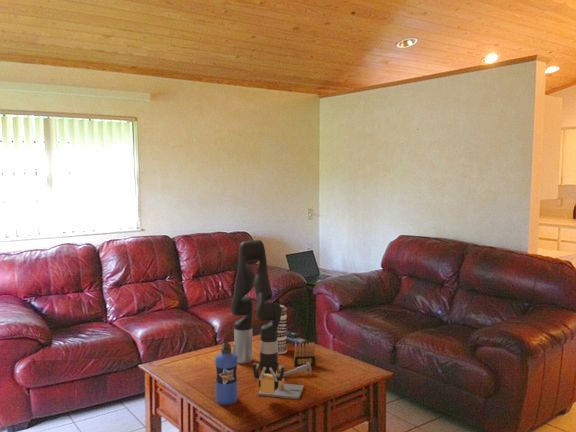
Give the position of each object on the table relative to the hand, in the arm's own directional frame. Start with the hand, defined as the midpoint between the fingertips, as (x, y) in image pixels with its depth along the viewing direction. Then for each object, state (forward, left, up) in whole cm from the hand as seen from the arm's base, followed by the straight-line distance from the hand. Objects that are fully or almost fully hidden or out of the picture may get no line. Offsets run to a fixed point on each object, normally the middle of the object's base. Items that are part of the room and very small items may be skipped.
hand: (268, 388), depth 210 cm
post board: (+3, +11, -6) cm, 13 cm away
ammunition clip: (+8, +42, -6) cm, 43 cm away
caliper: (+4, +28, -6) cm, 29 cm away
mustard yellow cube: (0, 0, -1) cm, 1 cm away
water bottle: (-18, -2, -6) cm, 19 cm away
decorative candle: (-9, +59, -6) cm, 60 cm away
